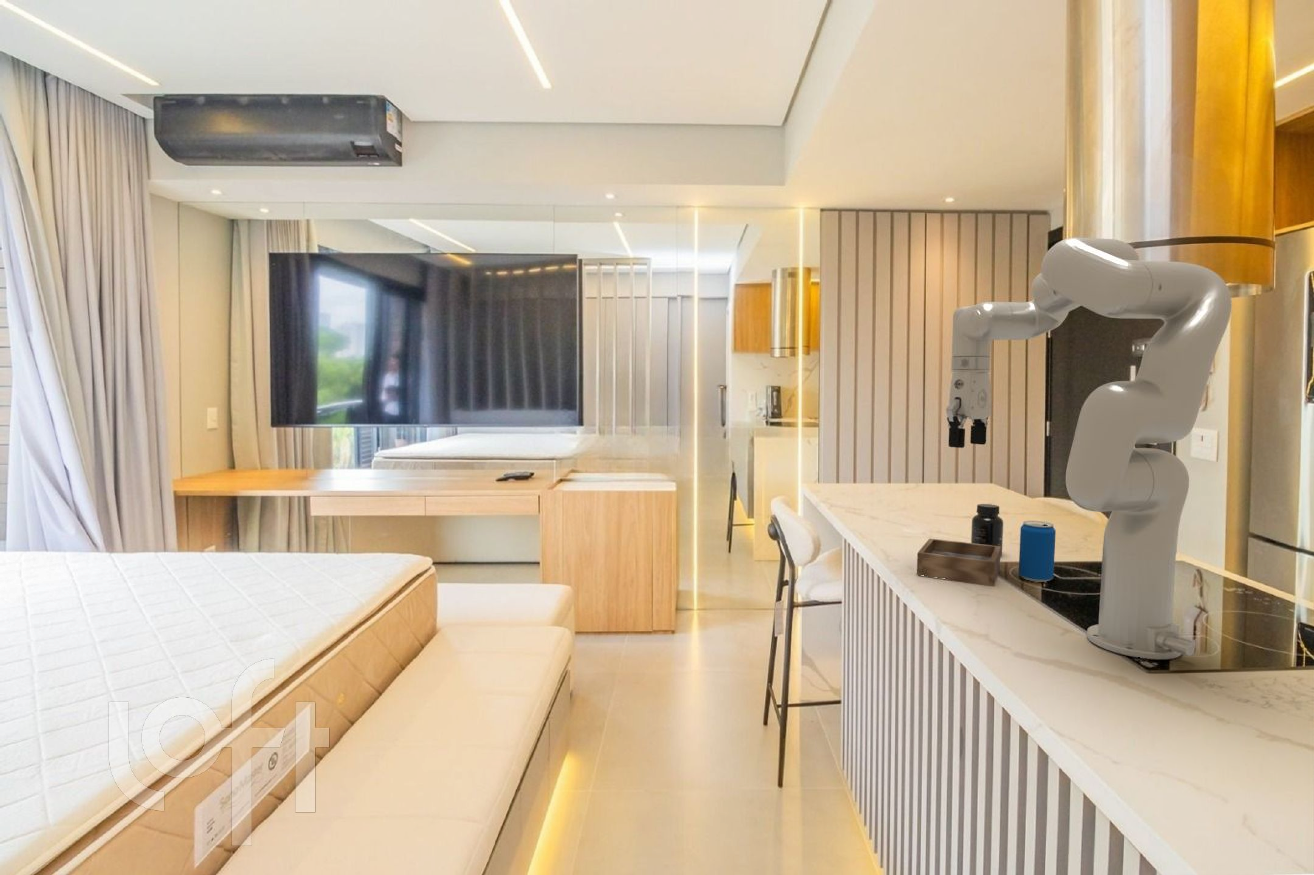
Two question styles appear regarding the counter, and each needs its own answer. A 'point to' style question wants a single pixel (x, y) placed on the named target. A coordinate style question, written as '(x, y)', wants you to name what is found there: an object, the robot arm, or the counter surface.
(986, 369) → the robot arm
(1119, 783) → the counter surface
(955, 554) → the bore box
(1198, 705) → the counter surface
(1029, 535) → the beverage can
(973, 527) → the supplement bottle
